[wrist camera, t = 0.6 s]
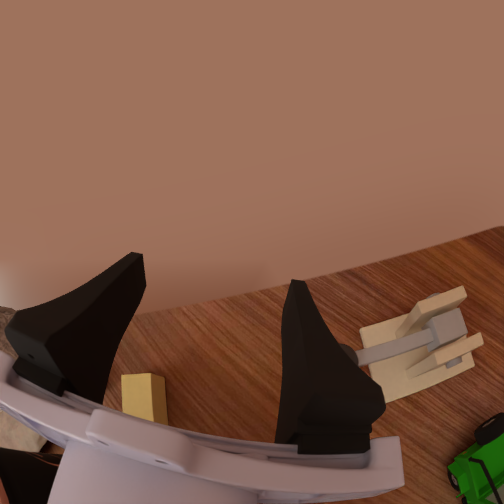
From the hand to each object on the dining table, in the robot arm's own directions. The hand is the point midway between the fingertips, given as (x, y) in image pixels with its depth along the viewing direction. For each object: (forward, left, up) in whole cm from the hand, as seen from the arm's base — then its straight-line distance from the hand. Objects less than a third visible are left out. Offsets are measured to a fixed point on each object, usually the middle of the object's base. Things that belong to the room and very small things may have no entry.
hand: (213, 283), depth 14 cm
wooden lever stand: (-4, -14, -18) cm, 23 cm away
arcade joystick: (-4, -10, -11) cm, 15 cm away
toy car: (-21, -19, -18) cm, 34 cm away
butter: (-4, +15, -18) cm, 23 cm away
